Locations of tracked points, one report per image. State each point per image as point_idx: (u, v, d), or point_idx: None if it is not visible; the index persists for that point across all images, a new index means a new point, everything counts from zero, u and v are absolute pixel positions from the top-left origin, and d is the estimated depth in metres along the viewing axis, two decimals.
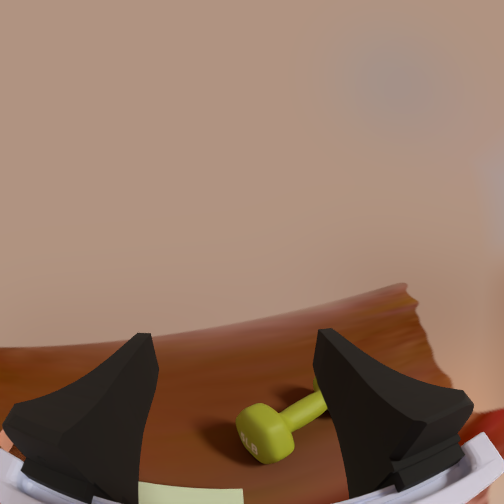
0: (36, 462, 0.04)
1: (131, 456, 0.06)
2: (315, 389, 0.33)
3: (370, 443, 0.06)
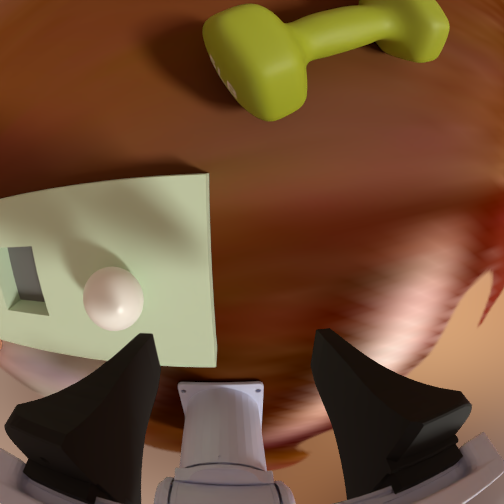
0: (39, 463, 0.04)
1: (134, 456, 0.06)
2: None
3: (367, 444, 0.06)
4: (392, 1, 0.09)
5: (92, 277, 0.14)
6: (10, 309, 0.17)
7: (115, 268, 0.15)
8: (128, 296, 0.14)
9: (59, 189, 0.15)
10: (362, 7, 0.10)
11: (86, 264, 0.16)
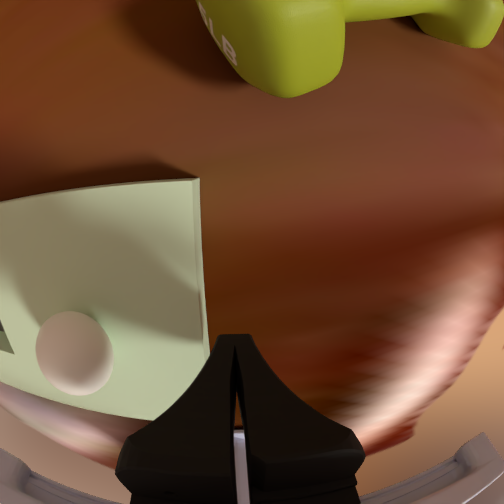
0: (144, 496, 0.04)
1: (235, 464, 0.07)
2: None
3: (248, 463, 0.06)
4: None
5: (43, 328, 0.09)
6: None
7: (71, 316, 0.10)
8: (88, 358, 0.09)
9: (6, 204, 0.09)
10: None
11: (43, 302, 0.11)
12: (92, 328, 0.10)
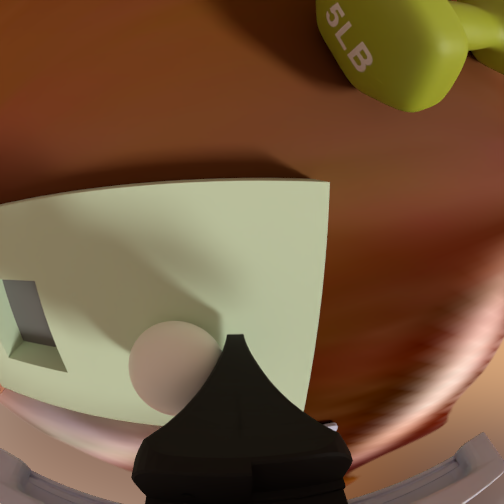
0: (159, 498, 0.04)
1: None
2: None
3: None
4: None
5: (144, 342, 0.09)
6: (11, 356, 0.12)
7: (183, 327, 0.10)
8: None
9: (77, 195, 0.09)
10: (480, 9, 0.05)
11: (125, 312, 0.11)
12: (209, 340, 0.10)
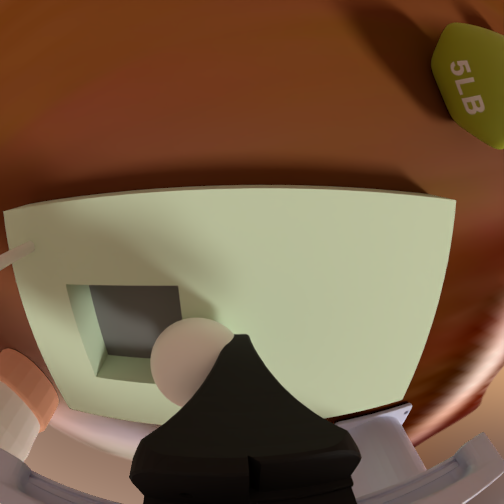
0: (157, 498, 0.04)
1: None
2: None
3: None
4: None
5: (219, 332, 0.10)
6: (98, 374, 0.13)
7: (177, 330, 0.10)
8: None
9: (265, 190, 0.11)
10: None
11: (297, 311, 0.12)
12: (161, 334, 0.10)
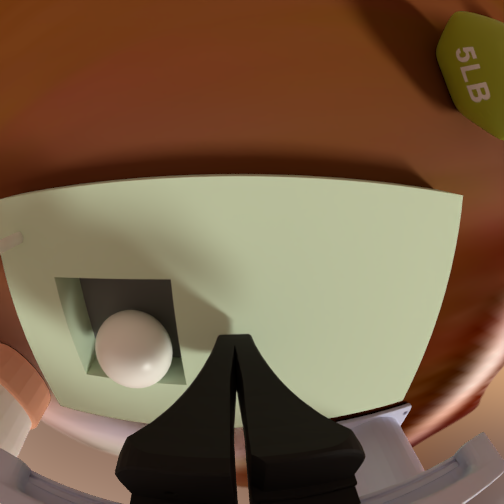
0: (144, 496, 0.04)
1: None
2: None
3: (248, 463, 0.06)
4: None
5: (123, 353, 0.10)
6: (89, 371, 0.13)
7: (126, 320, 0.11)
8: (164, 331, 0.12)
9: (264, 179, 0.10)
10: None
11: (297, 308, 0.12)
12: (140, 313, 0.12)
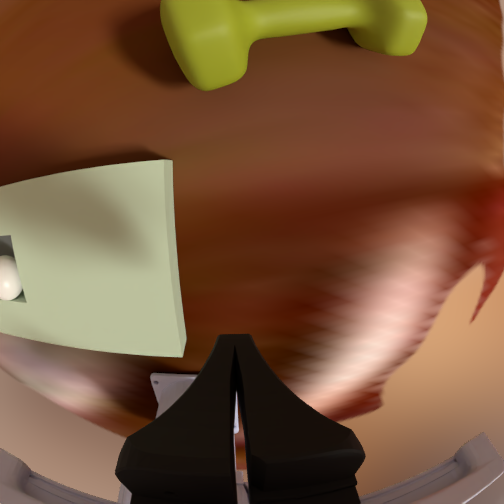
0: (144, 496, 0.04)
1: (235, 464, 0.07)
2: None
3: (248, 463, 0.06)
4: None
5: None
6: None
7: (0, 257, 0.16)
8: None
9: (34, 179, 0.14)
10: None
11: (57, 251, 0.16)
12: (9, 256, 0.17)
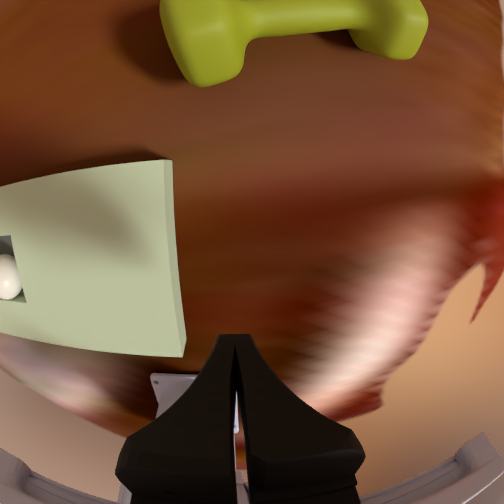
0: (144, 496, 0.04)
1: (235, 464, 0.07)
2: None
3: (248, 463, 0.06)
4: None
5: None
6: None
7: (0, 256, 0.16)
8: None
9: (34, 179, 0.14)
10: None
11: (57, 251, 0.16)
12: (9, 255, 0.17)
